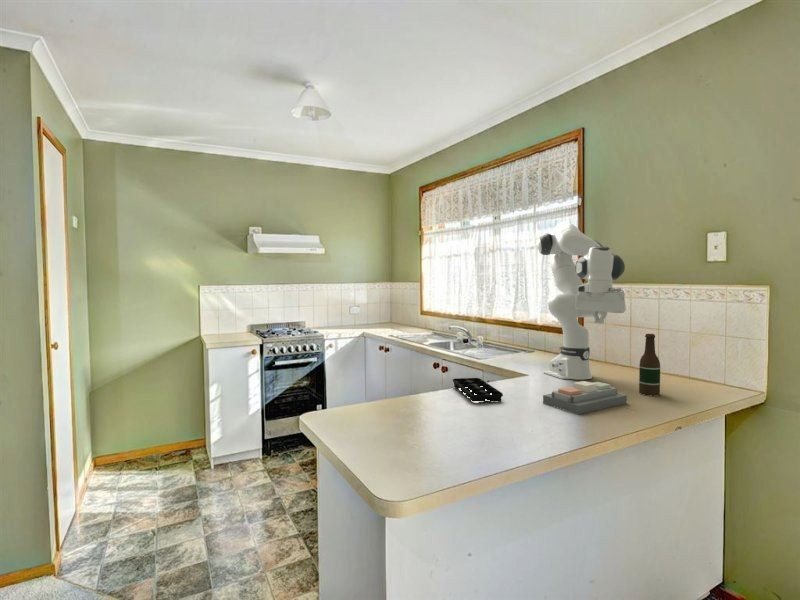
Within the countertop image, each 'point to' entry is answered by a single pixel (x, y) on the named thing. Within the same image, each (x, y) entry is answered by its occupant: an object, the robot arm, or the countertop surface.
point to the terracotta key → (569, 391)
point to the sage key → (601, 385)
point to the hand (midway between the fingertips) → (599, 323)
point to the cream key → (585, 386)
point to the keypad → (586, 400)
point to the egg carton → (477, 389)
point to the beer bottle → (649, 369)
